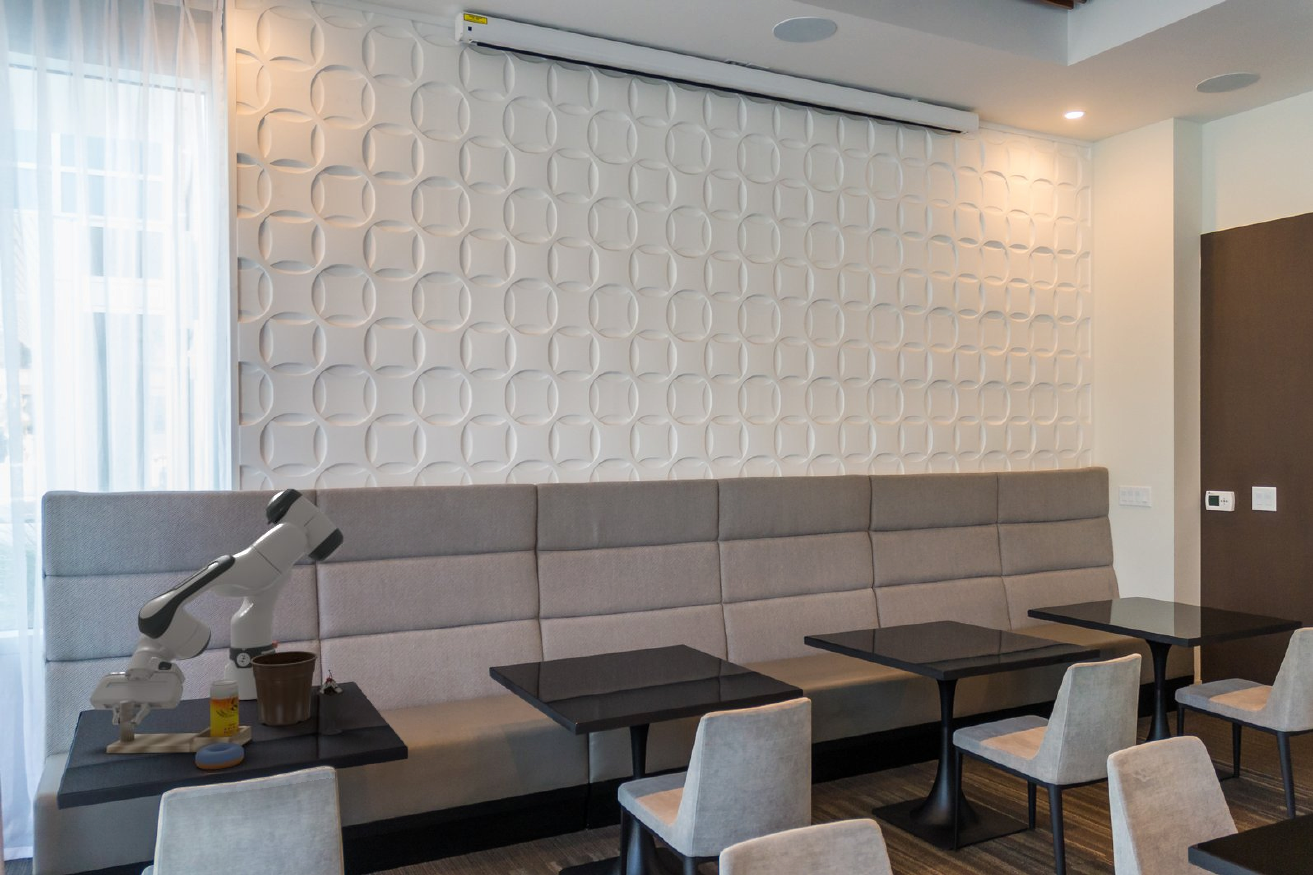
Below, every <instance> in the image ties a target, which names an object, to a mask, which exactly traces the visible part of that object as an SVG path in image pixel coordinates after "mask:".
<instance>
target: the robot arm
mask: <svg viewBox="0 0 1313 875" xmlns="http://www.w3.org/2000/svg"><path fill="white" fill-rule="evenodd" d="M265 516H266V518H267V520H268V521H267V523H266V525H267V526H269V525H271V524H273V525H274V527H272V528H271V529H269V530H268V531H267V532H265V533H263V535H261V536H260V537H259V538H258V539H256V540H254V542H253V543H252V544H251V545H249V546H248V547H247V548H245V549H244V550H242V551H240V552H237V553H236V554H232V555H229V554H225V555H221V556H219V557H217V558H215V559H214V560H212V561H211V562H209V563H207V564H206V565H204V566H203V567H201V568H200V569H198V570H197V571H195V572H194V573H192V574H191V575H190V576H188V577H186V578H185V579H183V580H182V581H181V582H178V583H177V584H176V585H174V586H173V587H172V588H170V589H169V590H167V591H165V592H163V593H162V594H159V595H157V596H155V597H154V598H152V599H150V600H148V601H147V602H145V604H144V605H143V606H142V607H141V608H140V610H139V612H138V615H137V625H138V626H137V627H138V630H139V632H140V633H141V635H140V637H139V640H138V641H137V649H136V650H135V651H134V652H133V654H132V656H131V658H130V661H129V662H128V665H127V667H126V669H125V671H124V672H123V671H121V672H109V673H108V674H106V675H104V676H101V678H100V680H99V682H98V684H97V685H96V687H95V688H94V690H93V692H92V693H91V696H90V698H89V702H90V705H91V707H93V708H94V709H95V710H96V711H105V710H106V711H108V710H109V711H111V710H112V713H113V718H112V720H111V723H112V724H113V726H120V702H121V701H126V700H134V710H139V711H138V712H137V713H136V714H134V715H133V716H132V719H131V723H132V724H133V725H134V726H136V725H140V724H141V722H142V720H143V718H145V717H146V716H147V715H148V714H150V712H151V710H153V709H154V710H155V709H174V708H176V707H177V706H179V704H180V703H181V700H182V696H183V693H184V692H183V691H184V685H183V684H184V683H185V680H186V677H185V674H184V673H183V671H182V669H181V668H180V667H179V666H178V664H177V663H175V662H172V661H185V660H190V659H194V658H197V657H200V656H201V655H202V654H203V653H204V652H205V651H206V650H207V648H208V646H209V644H210V641H211V637H212V631H211V628H210V627H209V626H207V624H206V623H204V622H203V621H202V620H201V619H200V618H198V617H196V616H195V615H194V614H192V613H191V612H189V611H188V610H187V609H186V608H185V606H187V605H188V604H190V603H191V602H192V601H194V600H196V598H198V597H200V596H202V595H203V593H205V592H207V591H208V590H210V592H211V593H212V595H214V596H215V597H216V598H218V599H223V600H224V599H225V600H239V599H243V602H242V605H241V606H240V608H239V609H238V611H236V612H235V613H234V614H233V616H232V617H231V619H230V646H229V648H228V649H229V650H228V657H229V658H228V659H229V662H228V663H227V664H226V665H225V666H224V673H223V674H224V675H223V680H227V679H233V680H236V681H237V684H238V696H239V701H244V700H246V701H247V700H257V692H256V684H255V677H254V676H253V667H252V664H251V663H250V660H251V659H252V658H254V657H257V656H260V655H264V654H270V653H277V652H276V649H277V648H278V647H279V644H278V643H279V642H278V641H273V637H274V636H273V629H274V628H273V625H274V614H275V610H276V606H277V604H278V600H279V599H280V596H281V594H282V592H283V591H284V590H285V588H286V587H287V586H289V584H290V583H291V580H292V576H293V569H292V567H293V566H294V564H295V563H296V562H298V560H300V559H301V558H302V557H303V556H304V555H305V554H306V555H307V557H308V558H309V559H311V560H313V561H315V562H318V563H319V562H320V563H322V562H324V561H327V560H329V559H331V558H333V557H334V556H336V554H338V552H339V551H340V550H341V547H342V545H343V543H344V535H343V532H342V531H341V530H340V528H339V527H336V526H335V524H334V523H333V521H332V520H331V519H330V518H329V517H328V516H327V515H326V514H325V513H324V512H323V511H322V510H321V509H319V508H318V507H317V506H316V505H315V504H313V503H312V501H310V500H309V499H307V498H306V497H304V496H303V493H301V492H300V491H298V490H296V489H294V488H286V489H284V490H281V491H279V492H277V493H276V494H275V495H274V496H273V497H272V498H271V499H270V500H269V503H268V504H267V507H266V508H265Z"/></svg>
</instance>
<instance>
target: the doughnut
mask: <svg viewBox="0 0 1313 875" xmlns="http://www.w3.org/2000/svg"><path fill="white" fill-rule="evenodd" d="M244 750H245V749H244V747H243V745H241V746H240V745H239V744H235V743H218V744H213V745H209V746H206V747H204V748H202V749H200V750H199V751H198V752H195V753H196V754H195V757H194V758H195V759H194V760H195V763H194V764H195V765H196V767H197V768H199V769H202V770H211V771H212V770H220V769H221V770H222V769H226V768H230V767H234V766H237V765H239V764H241V762H242V761H243V759H244V758H245V752H244Z"/></svg>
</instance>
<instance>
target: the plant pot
mask: <svg viewBox="0 0 1313 875" xmlns="http://www.w3.org/2000/svg"><path fill="white" fill-rule="evenodd" d="M317 659H318V654H317V653H315V652H310V651H302V650H301V651H300V650H298V651H297V650H296V651H295V650H294V651H293V650H292V651H279V652H276V653H270V654H264V655H260V656H257V657H254V658H252V659H251V660H250V663H251V664H252V667H253V676H254V677H255V684H256V692H257V699H256V701H257V708H258V710H257V711H258V721H259V723H260V724H261V725H266V726H267V725H268V726H269V727H278V726H279V727H280V726H281V725H282V726H288V725H289V726H291V725H296V724H297V723H299V722H305V721H307V720H308V719H310V717H311V702H312V701H311V700H312V688H313V678H314V673H315V671H316V661H317ZM290 724H291V725H290ZM268 726H267V727H268Z"/></svg>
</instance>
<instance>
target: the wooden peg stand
mask: <svg viewBox="0 0 1313 875" xmlns="http://www.w3.org/2000/svg"><path fill="white" fill-rule="evenodd" d="M119 715H120V725H119V740H117V741H115V742H113V743H111V744H109V745H107V746H106V754H141V753H142V754H143V753H144V754H146V753H147V754H150V753H151V754H152V753H154V754H155V753H197V752H198V751H199V750H200V749H202V748H204V747H206V746H209V745H213V744H218V743H235V744H239V745H240V746H243V745H244V744H246V743H248V741H250V740H251V739H252V726H251V725H248V726H247V725H241V726H240V725H239V732H237V733H236V734H234V735H233V736H231V737H211V730H210V726H208V727H207V728H204V729H203V730H202V731H200V732H198V733H197V732H193V733H191V732H190V733H189V732H188V733H135V725H133V724H132V723H131V719H132V716H133V715H135V709H134V700H126V701H121V702H120V713H119Z"/></svg>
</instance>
